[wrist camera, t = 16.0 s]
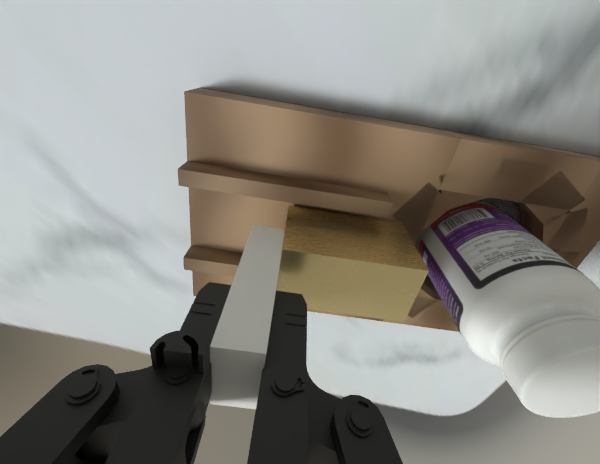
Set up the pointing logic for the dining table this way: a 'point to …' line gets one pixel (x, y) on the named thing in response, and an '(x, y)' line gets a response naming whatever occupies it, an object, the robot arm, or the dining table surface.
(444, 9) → the dining table surface
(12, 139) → the dining table surface
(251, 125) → the dock plate
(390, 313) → the bar
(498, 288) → the pill bottle
